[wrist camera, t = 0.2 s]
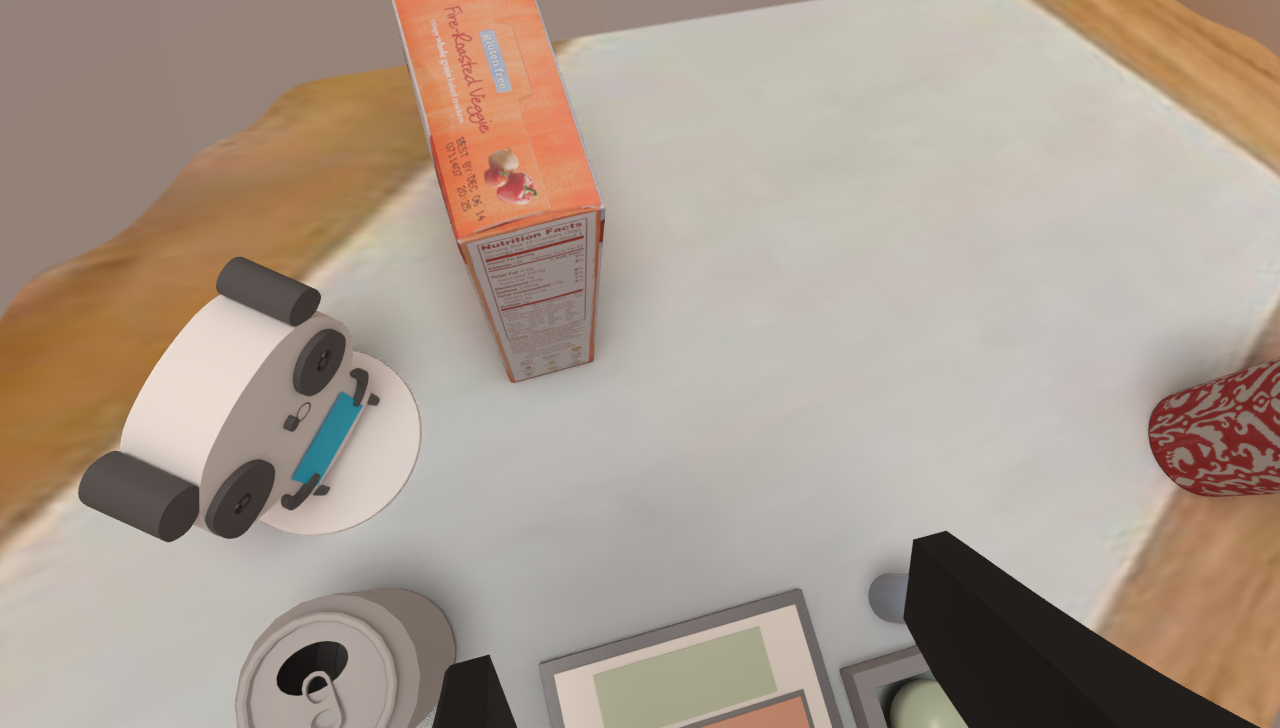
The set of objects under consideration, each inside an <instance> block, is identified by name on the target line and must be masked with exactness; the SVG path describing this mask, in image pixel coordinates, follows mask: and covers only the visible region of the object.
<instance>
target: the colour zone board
mask: <svg viewBox="0 0 1280 728" xmlns="http://www.w3.org/2000/svg"><path fill="white" fill-rule="evenodd" d="M539 667H540V672H541V677H542V682H543V686H544V691H545V696H546V701H547V706H548V711H549V716H550V721H551V725H552V728H843V724H842V721H841V718H840V715H839V711H838V708H837V705H836V701H835V698H834V695H833V692H832V688H831V685H830V682H829V678H828V675H827V672H826V669H825V665H824V662H823V659H822V655H821V652H820V649H819V646H818V642H817V639H816V636H815V632H814V629H813V626H812V623H811V619H810V616H809V613H808V610H807V606H806V603H805V600H804V596H803V593H802V590H801V589H796V590H792V591H789V592H785V593H782V594H778V595H775V596H772V597H768V598H765V599H761V600H758V601H754V602H751V603H747V604H744V605H740V606H737V607H733V608H730V609H727V610H723V611H720V612H716V613H713V614H709V615H706V616H702V617H699V618H695V619H692V620H688V621H685V622H681V623H678V624H675V625H671V626H668V627H664V628H661V629H657V630H654V631H650V632H647V633H643V634H640V635H636V636H633V637H630V638H626V639H623V640H619V641H616V642H612V643H609V644H605V645H602V646H598V647H595V648H591V649H588V650H584V651H581V652H578V653H574V654H571V655H567V656H564V657H560V658H557V659H553V660H550V661H546V662H543V663H540V664H539Z"/></svg>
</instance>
